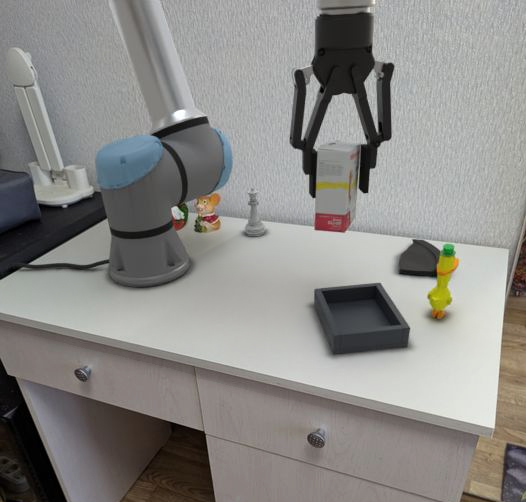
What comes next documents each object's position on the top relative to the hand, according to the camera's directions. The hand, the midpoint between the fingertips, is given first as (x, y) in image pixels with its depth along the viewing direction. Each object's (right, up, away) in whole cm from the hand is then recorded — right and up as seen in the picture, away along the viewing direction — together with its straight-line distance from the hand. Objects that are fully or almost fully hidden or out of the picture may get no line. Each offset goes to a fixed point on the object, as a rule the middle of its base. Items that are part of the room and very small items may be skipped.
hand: (338, 192), depth 75 cm
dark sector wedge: (+19, -8, +18) cm, 27 cm away
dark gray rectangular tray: (+3, -20, +1) cm, 20 cm away
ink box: (0, -4, +2) cm, 5 cm away
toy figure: (+16, -19, +3) cm, 25 cm away
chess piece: (-13, +2, +34) cm, 36 cm away
